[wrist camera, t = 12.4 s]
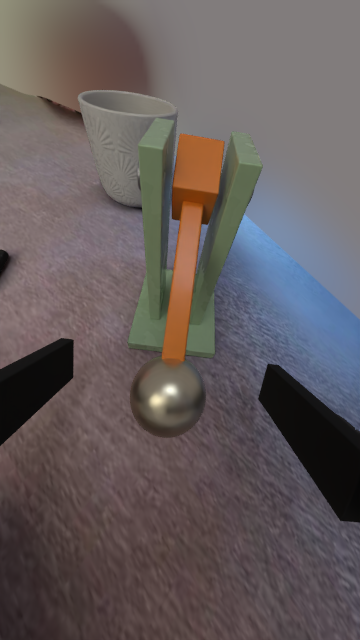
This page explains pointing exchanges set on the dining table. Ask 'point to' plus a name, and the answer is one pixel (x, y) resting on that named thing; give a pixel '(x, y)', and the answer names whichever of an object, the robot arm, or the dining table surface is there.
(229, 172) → the switch bracket
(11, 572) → the dining table surface
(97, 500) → the dining table surface
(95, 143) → the planter
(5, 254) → the smartphone
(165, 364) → the switch lever
